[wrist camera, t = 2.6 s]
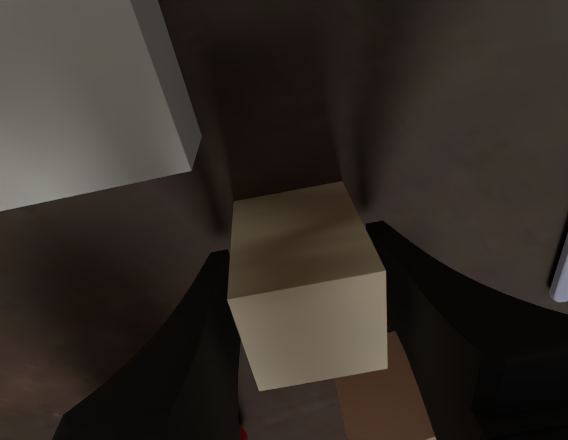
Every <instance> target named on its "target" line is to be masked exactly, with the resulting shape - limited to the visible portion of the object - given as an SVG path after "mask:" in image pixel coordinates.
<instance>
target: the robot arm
mask: <svg viewBox="0 0 568 440" xmlns="http://www.w3.org/2000/svg"><path fill="white" fill-rule="evenodd" d="M366 231H367V233H368V235H369V237H370V239H371V241H372V243H373V245H374V247H375V249H376V251H377V253H378V255H379V258H380V260H381V262H382V264H383V266H384V268H385V270H386V304H387V316H388V318H389V320H390V322H391V324H392V326H393V328H394V330H395V332H396V334H397V336H398V338H399V340H400V342H401V344H402V346H403V349H404V351H405V353H406V356H407V358H408V361H409V363H410V366H411V369H412V372H413V374H414V377H415V380H416V382H417V385H418V388H419V391H420V394H421V397H422V399H423V402H424V405H425V408H426V411H427V414H428V417H429V420H430V423H431V426H432V429H433V432H434V435H435V438H436V440H568V314H564V313H561V312H557V311H553V310H550V309H546V308H543V307H540V306H537V305H534V304H531V303H529V302H526V301H523V300H520V299H517V298H515V297H512V296H509V295H507V294H504V293H502V292H499V291H497V290H495V289H492V288H490V287H488V286H485V285H483V284H481V283H479V282H477V281H474V280H472V279H470V278H469V277H467V276H465V275H463V274H461V273H459V272H457V271H455V270H453V269H451V268H450V267H448V266H446V265H445V264H443V263H441V262H440V261H438V260H436V259H435V258H433V257H432V256H430V255H429V254H427V253H426V252H424V251H423V250H421V249H420V248H418V247H417V246H416V245H414V244H413V243H411V242H410V241H409V240H407V239H406V238H405V237H404V236H402V235H401V234H400V233H398V232H397V231H396V230H394V229H393V228H392V227H391V226H389V225H388V224H387V223H385V222H384V221H378V222H373V223H368V224H366ZM229 265H230V255H229V252H228V249H227V250H222V251H217V252H211V253H210V255H209V256H208V258H207V259H206V261H205V263H204V265H203V266H202V268H201V270H200V272H199V273H198V275H197V277H196V278H195V280H194V282H193V283H192V285H191V286H190V288H189V290H188V291H187V293H186V294H185V296H184V297H183V299H182V300H181V302H180V303H179V304H178V306H177V307H176V309H175V310H174V311H173V313H172V314H171V316H170V317H169V318H168V319H167V321H166V322H165V323H164V325H163V326H162V327H161V328H160V329H159V330H158V332H157V333H156V334H155V335H154V336H153V337H152V338H151V340H150V341H149V342H148V343H147V344H146V345H145V346H144V347H143V348H142V349H141V350H140V351H139V352H138V353H137V354H136V355H135V356H134V357H133V358H132V359H131V360H130V361H129V362H128V363H127V364H126V365H125V366H123V367H122V368H121V369H120V370H119V371H118V372H117V373H116V374H114V375H113V376H112V377H111V378H110V379H109V380H108V381H106V382H105V383H104V384H103V385H102V386H100V387H99V388H98V389H97V390H95V391H94V392H93V393H92V394H90V395H89V396H88V397H86V398H85V399H84V400H82V401H81V402H80V403H78V404H77V405H76V406H75V407H73V408H72V409H71V410H69V411H68V412H66V413H65V414H64V415H63V417H62V419H61V421H60V423H59V425H58V427H57V430H56V432H55V434H54V436H53V439H52V440H239V419H238V368H239V355H240V342H241V338H240V335H239V332H238V329H237V326H236V323H235V321H234V318H233V315H232V312H231V309H230V306H229V303H228V301H227V294H228V279H229ZM549 295H550V296H551V297H552V298H553V299H554V300H555V301H556V302H566V301H568V234H567V237H566V240H565V244H564V247H563V250H562V253H561V256H560V259H559V262H558V266H557V269H556V272H555V275H554V278H553V281H552V285H551V288H550V291H549Z"/></svg>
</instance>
